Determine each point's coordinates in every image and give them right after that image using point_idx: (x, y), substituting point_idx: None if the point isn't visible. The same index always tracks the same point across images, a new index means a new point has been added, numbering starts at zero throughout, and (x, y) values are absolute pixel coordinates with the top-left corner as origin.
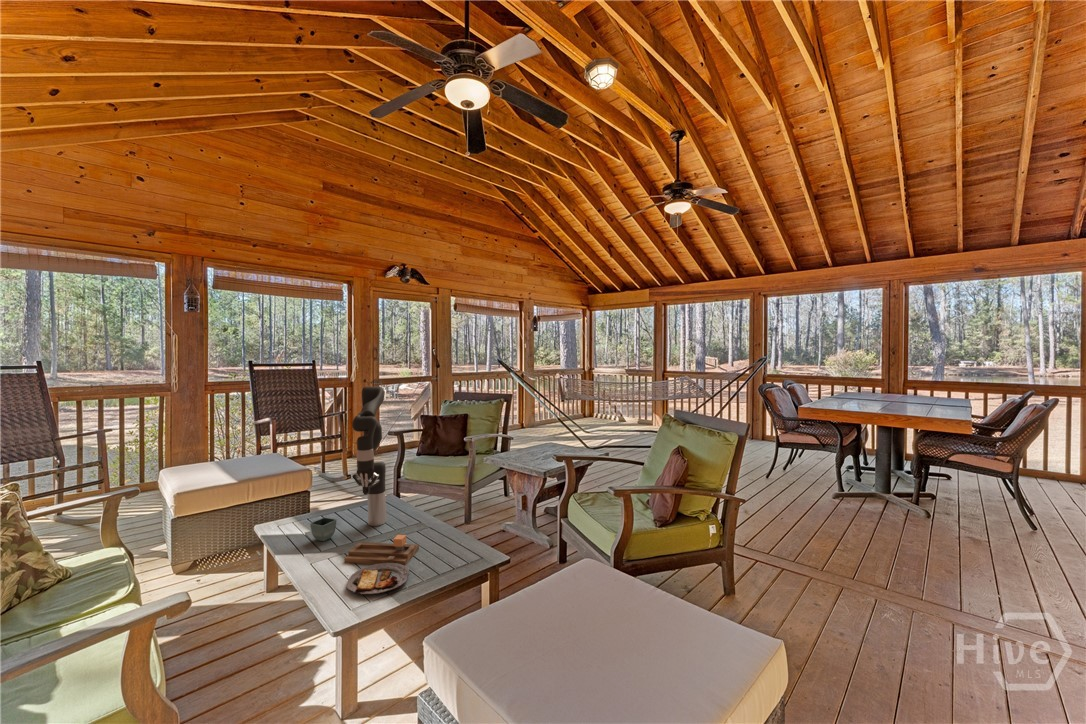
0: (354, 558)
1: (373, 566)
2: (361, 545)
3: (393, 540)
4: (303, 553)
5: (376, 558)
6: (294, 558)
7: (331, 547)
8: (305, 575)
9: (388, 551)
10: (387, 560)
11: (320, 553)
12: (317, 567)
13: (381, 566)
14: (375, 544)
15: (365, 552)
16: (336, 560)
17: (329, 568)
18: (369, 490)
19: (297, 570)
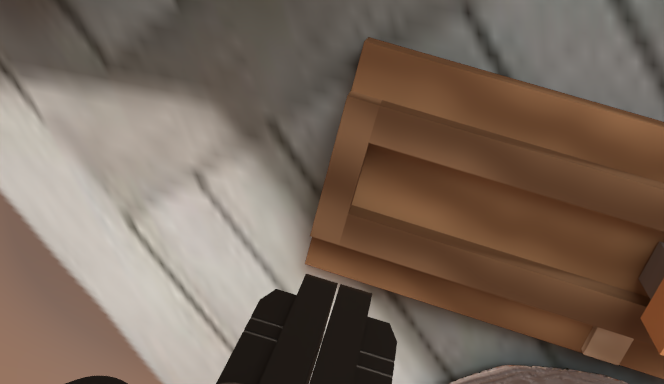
0: (367, 283)
1: (498, 379)
2: (373, 142)
3: (655, 346)
4: (17, 77)
5: (508, 316)
6: (5, 136)
7: (148, 14)
8: (161, 335)
9: (591, 298)
10: (582, 352)
11: (119, 98)
12: (182, 271)
13: (545, 382)
14: (481, 165)
15: (429, 273)
16: (254, 214)
17: (250, 297)
18: (391, 370)
19: (98, 278)
